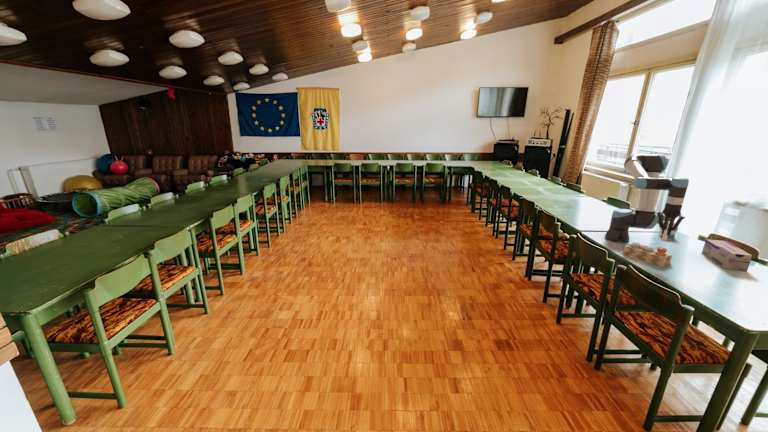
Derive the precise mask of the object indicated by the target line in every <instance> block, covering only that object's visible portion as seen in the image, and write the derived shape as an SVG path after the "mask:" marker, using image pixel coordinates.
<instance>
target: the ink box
mask: <svg viewBox="0 0 768 432" xmlns="http://www.w3.org/2000/svg"><path fill="white" fill-rule="evenodd" d="M664 221H665V220H663V224H664ZM676 222H677V221H674V224H673V226H674V225H675V223H676ZM669 223H670V220H669V222H668V226H667V230H668V227H669ZM662 230H663V229H662V228H660V227H659V232H658V235H659V236H660V237H663V234H662ZM676 233H677V229H676V230H674V231H671V234H670V235H669V236H668V237H667V238H670V239H671V238H672V239H675V236H676Z"/></svg>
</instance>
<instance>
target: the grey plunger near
mask: <svg viewBox="0 0 768 432" xmlns="http://www.w3.org/2000/svg"><path fill="white" fill-rule="evenodd" d="M631 244H632V247H634V248H637V249H638V248H639V247H640V246H642V244H640V243H639V242H631Z"/></svg>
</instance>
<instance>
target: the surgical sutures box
mask: <svg viewBox="0 0 768 432" xmlns="http://www.w3.org/2000/svg"><path fill="white" fill-rule="evenodd" d="M701 254H702V255H703V256H704V255H705V256H704V257H706V258H707V259H708V258H709V259H708V260H710V261H711V260H712V261H711V262H712V263H714V264H715V263H716V264H715V265H717V266H718V265H719V266H718V267H720V268H721V269H722V270H728V271H736V272H744V273H747V272H748V270H749V267H750V264H751V261H752V259H753V255H752V254H751V253H748V251H746V250H743V249H741V248H740V247H738V246H736V245H734V244H733V243H731V242H730V241H727V240H718V239H707V238H706V239H705V242H704V244H703V247H702V252H701Z"/></svg>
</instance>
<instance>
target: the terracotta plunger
mask: <svg viewBox="0 0 768 432" xmlns="http://www.w3.org/2000/svg"><path fill="white" fill-rule="evenodd" d="M656 250H657V254H658V255H661V256H665V253H667V251H668V249H667V248H666V247H660V246H659V247H657V248H656Z"/></svg>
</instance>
